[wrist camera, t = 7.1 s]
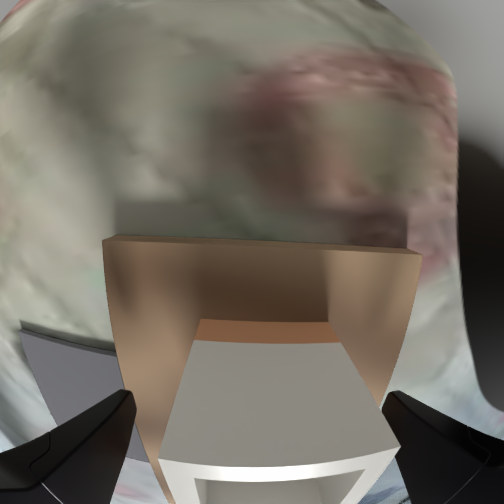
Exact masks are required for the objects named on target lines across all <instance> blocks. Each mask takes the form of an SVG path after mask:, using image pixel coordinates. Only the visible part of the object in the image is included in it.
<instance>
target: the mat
mask: <svg viewBox="0 0 504 504" xmlns="http://www.w3.org/2000/svg"><path fill="white" fill-rule="evenodd" d="M18 332H19V335H20V339H21V342H22V345H23V348H24V351H25V354H26V357H27V359H28V362H29V365H30V368H31V370H32V373H33V375H34V378H35V380H36V382H37V385H38V387H39V389H40V392H41V394H42V396H43V398H44V400H45V402H46V404H47V406H48V408H49V410H50V412H51V414H52V416H53V418H54V420H55V422H56V424H57V426H60V425H61V424H63V423H65V422H66V421H68V420H70V419H72V418H73V417H75V416H77V415H78V414H80V413H82V412H83V411H85V410H87V409H88V408H90V407H92V406H93V405H95V404H97V403H98V402H100V401H102V400H103V399H105V398H106V397H108V396H110V395H111V394H113V393H114V392H116V391H118V390H119V389H125V387H124V383H123V379H122V375H121V371H120V366H119V362H118V358H117V353H116V352H114V351H108V350H103V349H98V348H94V347H89V346H84V345H80V344H76V343H72V342H68V341H64V340H60V339H56V338H52V337H49V336H45V335H42V334H38V333H35V332H32V331H28V330H25V329H21V330H19V331H18ZM126 457H127V458H131V459H135V460H140V461H144V462H149V463H150V461H149V459H148V456H147V454H146V451H145V449H144V446H143V443H142V441H141V438H140V435H139V432H138V429H137V426H136V423H135V422H134V426H133V431H132V435H131V440H130V444H129V448H128V451H127V454H126Z"/></svg>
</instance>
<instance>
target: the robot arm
mask: <svg viewBox="0 0 504 504" xmlns="http://www.w3.org/2000/svg"><path fill="white" fill-rule="evenodd" d="M136 413H137V407H136V403H135V399H134V395H133V393H132V391H130V390H126V389H119V390H118V391H116V392H114V393H113V394H111V395H110V396H108V397H106V398H105V399H103V400H102V401H100V402H98V403H97V404H95V405H93V406H92V407H90V408H88V409H87V410H85V411H83V412H82V413H80V414H78V415H77V416H75V417H73V418H72V419H70V420H68V421H66V422H65V423H63V424H61V425H60V426H58V427H56V428H54V429H53V430H51V431H50V432H47V433H45V434H44V435H42V436H40V437H38V438H36V439H34V440H32V441H30V442H27V443H25V444H23V445H20V446H18V447H15V448H13V449H10V450H7V451H4V452H2V453H0V504H110V501H111V498H112V495H113V492H114V489H115V486H116V483H117V480H118V477H119V474H120V471H121V468H122V465H123V462H124V460H125V457H126V454H127V451H128V448H129V444H130V440H131V435H132V431H133V426H134V422H135V418H136ZM382 414H383V415H384V417H385V419H386V421H387V422H388V424H389V426H390V428H391V429H392V431H393V433H394V435H395V437H396V438H397V440H398V442H399V444H400V446H401V447H400V448H399V450H398V452H397V453H396V454H395V458H396V461H397V464H398V467H399V469H400V472H401V475H402V477H403V480H404V483H405V486H406V489H407V492H408V495H409V497H410V500H411V503H412V504H504V440H501V439H498V438H495V437H492V436H490V435H487V434H484V433H482V432H480V431H477V430H475V429H473V428H471V427H469V426H468V427H467V425H465V424H463V423H461V422H459V421H457V420H455V419H453V418H451V417H449V416H447V415H445V414H443V413H441V412H439V411H437V410H435V409H433V408H431V407H429V406H427V405H426V404H424V403H422V402H420V401H418V400H416V399H414V398H412V397H411V396H409V395H407V394H405V393H403V392H401V391H399V390H397V391H392V392H389V393H388V395H387V397H386V400H385V402H384V404H383V406H382Z"/></svg>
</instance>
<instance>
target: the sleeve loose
mask: <svg viewBox="0 0 504 504" xmlns="http://www.w3.org/2000/svg"><path fill="white" fill-rule="evenodd" d="M400 447H401V446H400V444H399V442H398V440H397V438H396V437H395V435H394V433H393V431H392V429H391V428H390V426H389V424H388V422H387V421H386V419H385V417H384V415H383V414H382V412H381V410H380V408H379V407H378V405H377V403H376V401H375V400H374V398H373V396H372V394H371V393H370V391H369V389H368V387H367V386H366V384H365V382H364V381H363V379H362V377H361V376H360V374H359V372H358V370H357V369H356V367H355V365H354V364H353V362H352V360H351V359H350V357H349V355H348V354H347V352H346V350H345V349H344V347H343V345H342V344H341V342H340V340H339V339H338V337H337V336H336V334H335V332H334V331H333V329H332V327H331V326H330V324H329V322H256V321H231V320H213V319H201V320H200V323H199V326H198V329H197V332H196V335H195V338H194V341H193V344H192V347H191V350H190V353H189V356H188V359H187V362H186V366H185V369H184V372H183V375H182V378H181V381H180V385H179V388H178V391H177V394H176V398H175V401H174V404H173V407H172V411H171V414H170V417H169V421H168V424H167V427H166V431H165V434H164V438H163V441H162V445H161V448H160V452H159V455H158V461H159V464H160V466H161V469H162V472H163V474H164V477H165V479H166V482H167V484H168V487H169V489H170V491H171V494H172V496H173V498H174V500H175V503H176V504H357V503H358V502H359V501H360V500H361V499H362V498H363V497H364V495H365V494H366V493H367V492H368V491H369V489H370V488H371V487H372V486H373V484H374V483H375V482H376V481H377V479H378V478H379V477H380V475H381V474H382V473H383V471H384V470H385V469H386V467H387V466H388V465H389V463H390V462H391V460H392V459H393V457H394V456H395V454H396V453H397V452H398V450H399V448H400Z"/></svg>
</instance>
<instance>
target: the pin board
mask: <svg viewBox="0 0 504 504" xmlns="http://www.w3.org/2000/svg"><path fill="white" fill-rule="evenodd" d="M102 247H103V262H104V274H105V283H106V292H107V300H108V307H109V314H110V321H111V327H112V332H113V338H114V343H115V348H116V353H117V358H118V362H119V366H120V371H121V375H122V379H123V383H124V387H125V389H126V390H130V391H132V393H133V395H134V399H135V403H136V407H137V413H136V418H135V423H136V426H137V429H138V432H139V435H140V438H141V441H142V443H143V446H144V449H145V451H146V454H147V456H148V459H149V461H150V464H151V466H152V469H153V471H154V473H155V475H156V478H157V480H158V482H159V484H160V486H161V489H162V491H163V493H164V495H165V497H166V499H167V501H168V503H171V504H176V503H175V500H174V498H173V496H172V494H171V491H170V489H169V487H168V484H167V482H166V479H165V477H164V474H163V472H162V469H161V466H160V464H159V461H158V455H159V452H160V448H161V445H162V441H163V438H164V434H165V431H166V427H167V424H168V421H169V417H170V414H171V411H172V407H173V404H174V401H175V398H176V394H177V391H178V388H179V385H180V381H181V378H182V375H183V372H184V369H185V366H186V362H187V359H188V356H189V353H190V350H191V347H192V344H193V341H194V338H195V335H196V332H197V329H198V326H199V323H200V320H201V319H213V320H231V321H256V322H329V324H330V326H331V327H332V329H333V331H334V332H335V334H336V336H337V337H338V339H339V340H340V342H341V344H342V345H343V347H344V349H345V350H346V352H347V354H348V355H349V357H350V359H351V360H352V362H353V364H354V365H355V367H356V369H357V370H358V372H359V374H360V376H361V377H362V379H363V381H364V382H365V384H366V386H367V387H368V389H369V391H370V393H371V394H372V396H373V398H374V400H375V401H376V403H377V405H378V407H379V406H380V403H381V401H382V399H383V396H384V394H385V391H386V389H387V386H388V384H389V381H390V379H391V376H392V373H393V370H394V368H395V365H396V362H397V359H398V356H399V353H400V350H401V347H402V343H403V340H404V337H405V333H406V330H407V326H408V323H409V319H410V315H411V311H412V307H413V303H414V299H415V294H416V290H417V285H418V280H419V275H420V269H421V264H422V258H423V255H422V254H419V253H417V252H415V251H412V250H410V249H405V248H389V247H373V246H356V245H338V244H320V243H301V242H281V241H260V240H238V239H214V238H189V237H162V236H131V235H115V236H112V237H110V238H107V239H104V240H102Z"/></svg>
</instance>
